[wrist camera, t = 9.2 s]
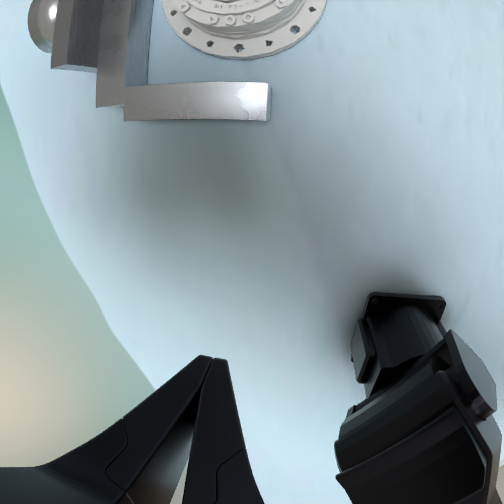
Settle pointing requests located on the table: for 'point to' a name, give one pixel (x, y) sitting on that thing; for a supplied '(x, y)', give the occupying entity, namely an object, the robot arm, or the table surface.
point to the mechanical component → (243, 25)
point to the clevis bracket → (133, 62)
